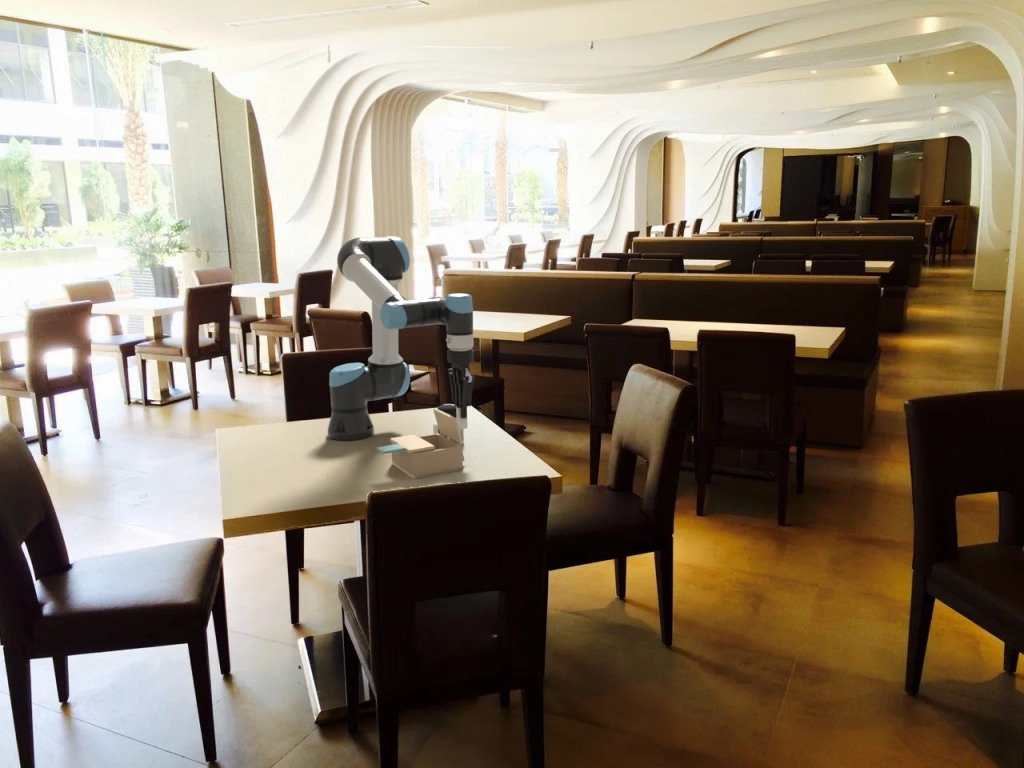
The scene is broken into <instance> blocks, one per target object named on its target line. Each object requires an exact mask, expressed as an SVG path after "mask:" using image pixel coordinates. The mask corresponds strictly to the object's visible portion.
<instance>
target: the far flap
mask: <svg viewBox="0 0 1024 768" xmlns="http://www.w3.org/2000/svg"><path fill="white" fill-rule="evenodd" d="M432 410H433V413H434V417H435V421H436V422H437V424H438V428H439V431H440V433H442V434H444V435H446V436H448V437H449V438H450V440H451V441H453V442H455V443H457V444H459V445H460V443H463V440H462V436H461V433H460V429H459V425H458V422H457V418H455V417H453V416H451V415H449V414H447V413H445V412H442V411H440V410H438V409H437V408H433V409H432ZM463 444H464V443H463ZM462 457H463V462H464V461H465V457H464V454H463V451H462Z"/></svg>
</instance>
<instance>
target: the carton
mask: <svg viewBox="0 0 1024 768" xmlns="http://www.w3.org/2000/svg"><path fill="white" fill-rule="evenodd" d="M417 436H418V435H417ZM418 437H420V438H421V439H423V440H425V441H427V442H428V443H430V444H432V445H434V447H435V449H430V450H424V451H419V452H413V453H408V452H407V451H401V452H395V453H391V464H392V465H393V466H395V467H396V468H398V469H399V470H401V472H403V473H404V474H406V475H407V476H409V477H410V478H412V479H413V480H417V479H422V478H428V477H433V476H438V475H442V474H449V473H453V472H458V471H463V470H464V461H463V457H462V452H463V446H462V445H459V444H457V443H455V442H453V441H451V440H450V439H448V438H446V437H444V436H442V435H440V434H438V433H436V434H434V433H431V434H425V435H419V436H418ZM390 445H394V443H393V442H391V441H390Z"/></svg>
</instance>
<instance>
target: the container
mask: <svg viewBox="0 0 1024 768" xmlns="http://www.w3.org/2000/svg"><path fill="white" fill-rule="evenodd" d="M456 407H457V406H456V405H455V404H452V403H445V404H440V405H438V407H437V408H436V409H438V410H440V411H442V412H445V413H447V414H449V415H451V416H453V417H455V418H457V413H456ZM432 427H433V434H436V433H438V434H440V435H442V436H444V437H446V438H448V439H450V438H449V437H448V436H446V435H444V434H442V433H440V431H439V428H438V424H437V421H436V422H435V423H434V424H433V425H432ZM464 430H465V429H460V433H461V436H462V440H463V443H460V445H461V446H462V445H463V444H464V443H465V437H464V436H465V435H464Z"/></svg>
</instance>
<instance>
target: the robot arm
mask: <svg viewBox="0 0 1024 768" xmlns="http://www.w3.org/2000/svg"><path fill="white" fill-rule="evenodd" d="M336 258H337V259H336V260H337V262H336V264H337V268H338V270H339V272H340V273H341V275H342V276H343V277H344V278H345V279H346V280H347V281H349V282H353V283H354V284H355V285H356V286H357V287H358V288H359V289H360V290H361V291H362V292H363V293H364V295H365V296H366V297H368V299H370V300H371V321H372V322H371V325H372V326H371V327H372V329H371V330H372V332H371V334H372V335H371V336H372V341H371V342H372V354H371V355H370V356H369V357H368V359H367V361H368V363H367V366H365V364H364V363H362V362H350V363H345V364H341V365H338V366H335V367H334V368H333V369H330V372H329V380H328V381H329V383H328V385H329V392H330V393H329V394H330V405H331V406H330V407H331V416H330V420H329V424H328V426H327V427H328V428H327V437H328V439H331V440H336V441H355V440H361V439H362V440H363V439H366V438H369V437H372V436H373V435H374V434H375V426H374V424H373V421H372V419H371V416H370V414H369V412H368V402H370V401H379V400H383V399H393V398H395V397H400V396H403V395H404V394H406V392H407V391H408V389H409V387H410V381H411V373H410V370H409V365H408V364H407V363H406V362H404V358H403V357H402V356H401V355H400V354H399V330H401V329H406V328H409V329H410V328H415V327H416V328H417V327H425V326H426V327H427V326H435V325H443V326H445V327H446V338H445V342H446V347H447V348H448V349H447V351H446V354H447V357H446V358H447V363H450V364H451V368H448V369H447V374H448V377H449V385H450V386H449V387H450V393H451V394H450V395H451V400H452V403H454V405H456V406H457V407H456V413H457V422H458V425H459V429H463V430H465V429H468V407H471V405H472V397H473V390H474V389H473V388H474V381H475V375H471V369H470V364H472V363H473V362H474V358H475V357H474V351H475V350H474V349H473V347H474V306H473V296H472V295H471V294H468V293H450V294H449V293H448V294H447V295H446V297H445V298H444V297H441V296H430V297H428V298H426V299H416V300H415V299H414V300H407V299H406V298H405V297H404V296H403V295H402V293H400V292H399V283H400V282H401V281H403V278H404V277H403V273H405V272H408V270H409V268H410V265H411V259H410V252H409V249H408V247H407V245H406V243H405V242H404V241H403V239H401V238H400V237H398V236H389V235H387V236H386V235H385V236H373V237H355V238H352V239H350V240H348V241H347V242H345V243H344V244H343V245H342V246H341V247H340V249H339V250H338V253H337V257H336Z"/></svg>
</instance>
